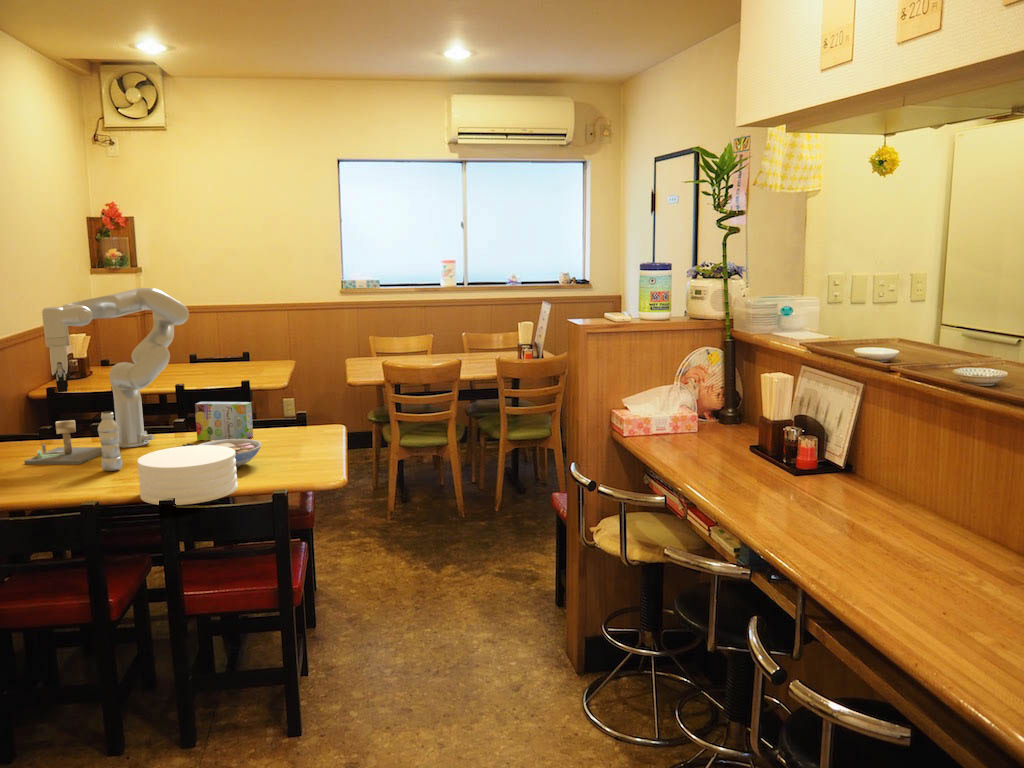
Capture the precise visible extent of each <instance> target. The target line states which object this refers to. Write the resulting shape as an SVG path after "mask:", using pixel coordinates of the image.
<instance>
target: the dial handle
mask: <svg viewBox="0 0 1024 768" xmlns="http://www.w3.org/2000/svg"><path fill="white" fill-rule="evenodd" d="M76 426H77V425H76V420H75V419H70V420H69V419H68V420H58V421H55V430H56V431H55V432H56V435H59V434H62V440H63V441H62V442H63V447H64V451H57V452H48V451H47V447H46V446H47V445H46V444H45V443H44V444H41V451H42V454H43V455H51V454H61V453H65V454H71V453H72V447H73V445H72V437H71V433H76V431H77V428H76Z"/></svg>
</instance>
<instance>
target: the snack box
mask: <svg viewBox="0 0 1024 768" xmlns="http://www.w3.org/2000/svg"><path fill="white" fill-rule="evenodd" d="M252 409H253V408H252V401H250V402H249V401H199V402H197V403H194V410H195V411H194V413H195V426H196V427H195V428H196V429H195V430H196V439H197V440H214V441H216V440H225V439H252V438H253V439H254V428H253V410H252Z"/></svg>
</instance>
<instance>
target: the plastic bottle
mask: <svg viewBox="0 0 1024 768" xmlns="http://www.w3.org/2000/svg"><path fill="white" fill-rule="evenodd" d="M100 414H101V415H100V419H101V421H100V422H99V424H98V426H97V432H98V437H99V439H100V440H99V441H100V445H101V447H102V455H101V459H100V464H101V465H100V466H101V469H102V470H103V471H105V472H114V471H118V470H121V469H122V467H123V462H124V461H123V459H122V456H121V450H120V449H121V448H120V447H119V426H118V424H117V423H116V420H114V417H115V415H114V412H113V411H104V412H101V413H100Z"/></svg>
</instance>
